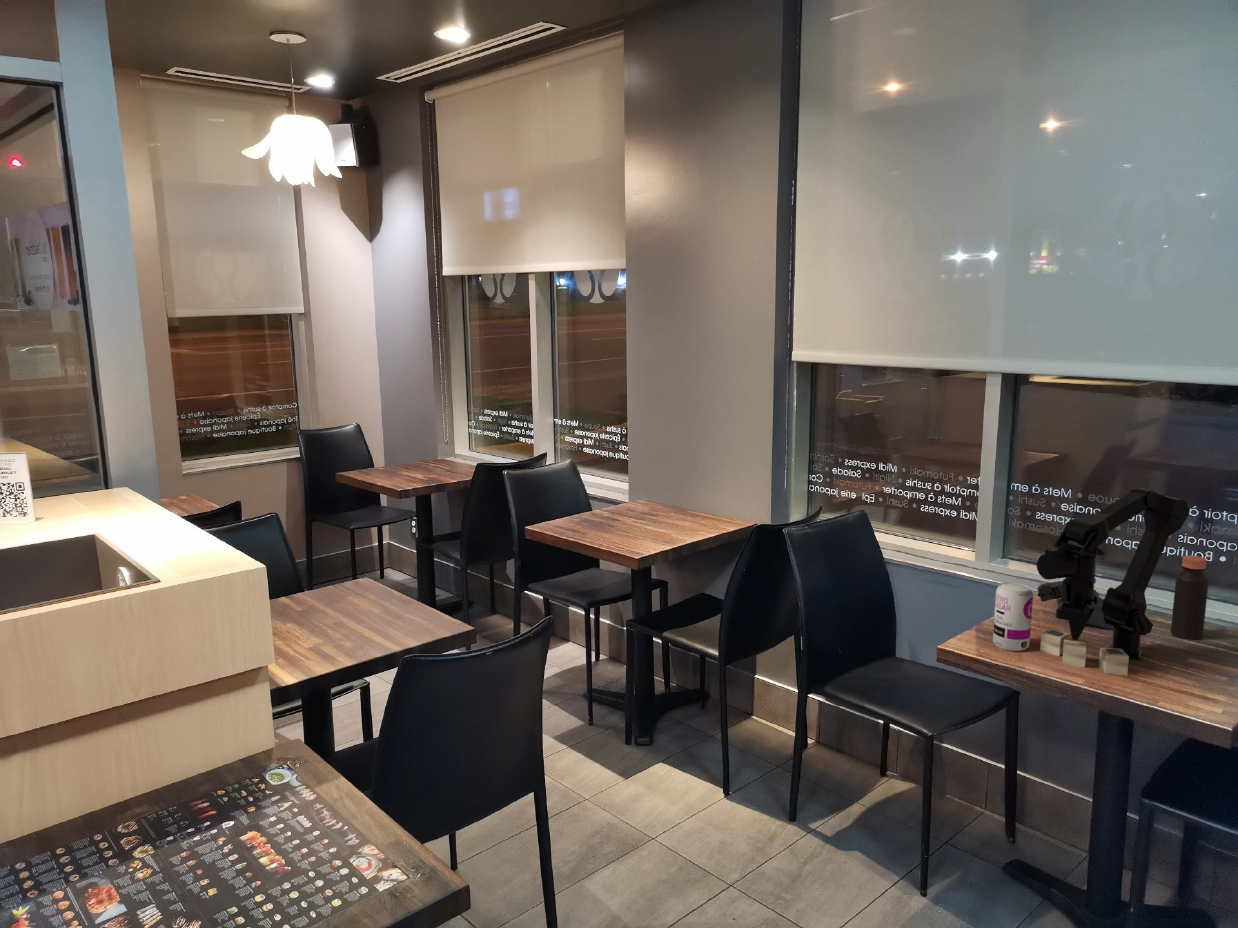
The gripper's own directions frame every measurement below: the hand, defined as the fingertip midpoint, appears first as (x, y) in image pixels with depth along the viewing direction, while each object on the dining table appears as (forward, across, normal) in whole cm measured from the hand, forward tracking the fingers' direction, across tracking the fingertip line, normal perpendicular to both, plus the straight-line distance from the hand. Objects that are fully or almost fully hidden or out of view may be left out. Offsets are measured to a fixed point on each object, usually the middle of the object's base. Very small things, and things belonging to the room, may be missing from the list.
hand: (1075, 639), depth 199 cm
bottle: (+6, -35, +20) cm, 41 cm away
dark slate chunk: (+6, -38, -2) cm, 38 cm away
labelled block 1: (+6, -5, -5) cm, 9 cm away
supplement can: (+6, -3, -14) cm, 15 cm away
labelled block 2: (+6, 0, +8) cm, 10 cm away
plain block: (+6, 0, 0) cm, 6 cm away
